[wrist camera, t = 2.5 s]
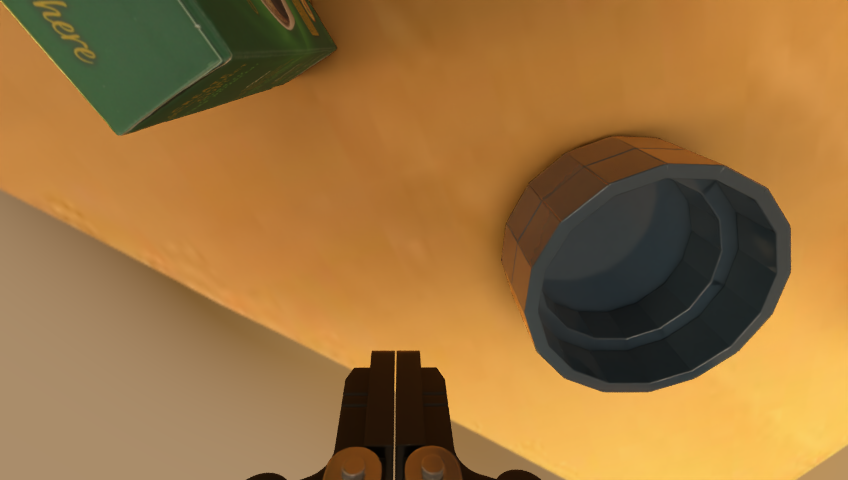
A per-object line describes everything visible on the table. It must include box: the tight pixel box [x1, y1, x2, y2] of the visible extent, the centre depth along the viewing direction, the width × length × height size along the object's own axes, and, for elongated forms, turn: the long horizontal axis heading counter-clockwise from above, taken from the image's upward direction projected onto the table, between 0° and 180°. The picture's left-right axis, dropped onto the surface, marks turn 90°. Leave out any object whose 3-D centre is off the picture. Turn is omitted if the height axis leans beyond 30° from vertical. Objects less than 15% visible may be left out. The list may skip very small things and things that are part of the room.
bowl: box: [501, 136, 791, 392], centre depth 22 cm, size 11×11×6 cm
